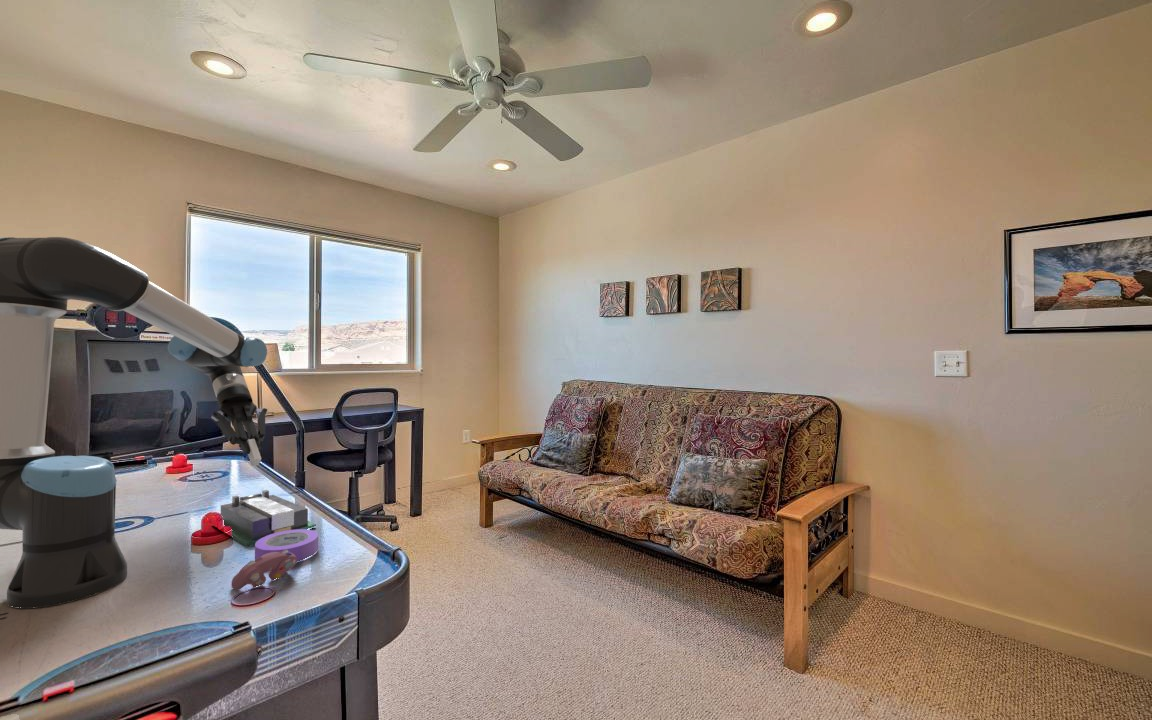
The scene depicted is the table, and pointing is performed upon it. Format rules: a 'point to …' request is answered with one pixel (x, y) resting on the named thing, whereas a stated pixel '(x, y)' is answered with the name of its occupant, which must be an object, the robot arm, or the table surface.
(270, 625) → the table surface
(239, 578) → the video game controller
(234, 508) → the grey box device
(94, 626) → the table surface
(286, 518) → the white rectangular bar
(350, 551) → the table surface
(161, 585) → the table surface
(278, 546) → the masking tape
